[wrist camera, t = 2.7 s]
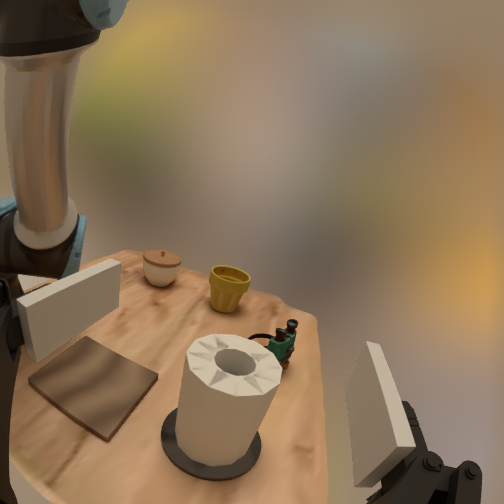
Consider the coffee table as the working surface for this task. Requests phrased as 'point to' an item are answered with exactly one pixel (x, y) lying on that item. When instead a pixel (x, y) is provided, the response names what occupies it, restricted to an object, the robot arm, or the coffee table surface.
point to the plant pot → (227, 287)
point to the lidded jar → (160, 267)
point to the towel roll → (224, 397)
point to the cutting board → (94, 386)
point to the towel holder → (199, 468)
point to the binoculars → (281, 342)
